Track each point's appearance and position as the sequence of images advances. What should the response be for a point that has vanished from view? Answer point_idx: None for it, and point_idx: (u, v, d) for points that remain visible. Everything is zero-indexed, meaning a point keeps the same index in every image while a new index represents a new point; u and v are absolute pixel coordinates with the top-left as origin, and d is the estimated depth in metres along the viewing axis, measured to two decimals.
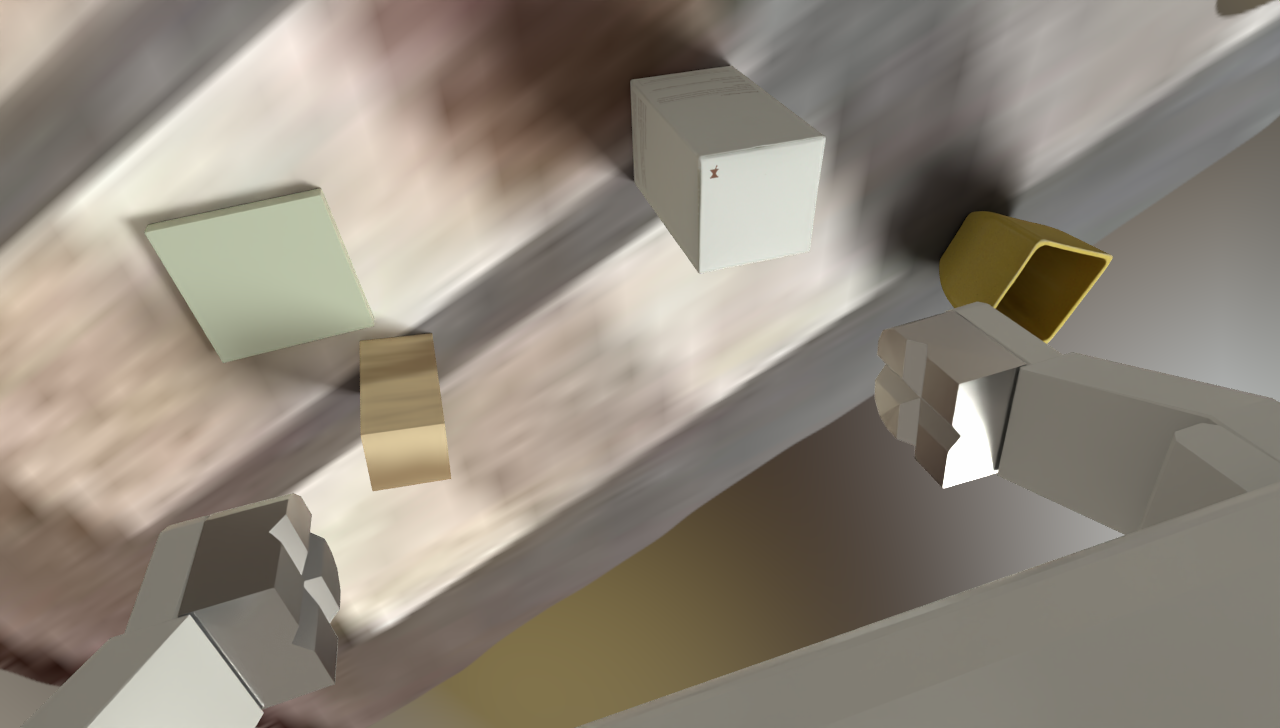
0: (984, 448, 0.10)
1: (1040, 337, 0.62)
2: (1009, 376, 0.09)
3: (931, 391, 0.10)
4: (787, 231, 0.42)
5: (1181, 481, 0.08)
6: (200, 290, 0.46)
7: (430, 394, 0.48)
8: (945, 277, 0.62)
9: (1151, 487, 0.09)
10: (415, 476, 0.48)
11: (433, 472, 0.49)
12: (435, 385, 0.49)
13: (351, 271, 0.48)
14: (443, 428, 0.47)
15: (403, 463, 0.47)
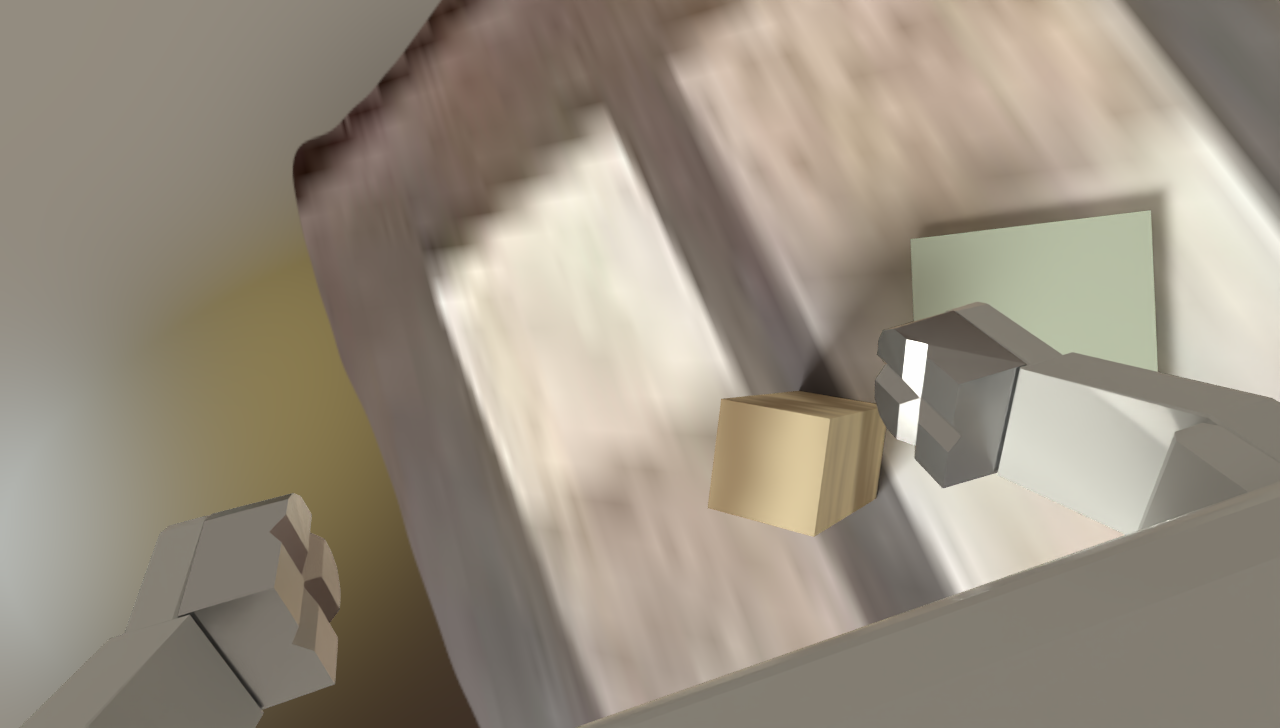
0: (984, 448, 0.10)
1: None
2: (1009, 376, 0.09)
3: (931, 391, 0.10)
4: None
5: (1181, 481, 0.08)
6: (1036, 247, 0.34)
7: (837, 509, 0.33)
8: None
9: (1151, 487, 0.09)
10: (728, 463, 0.33)
11: (727, 489, 0.33)
12: (842, 514, 0.34)
13: None
14: (805, 531, 0.31)
15: (757, 455, 0.32)
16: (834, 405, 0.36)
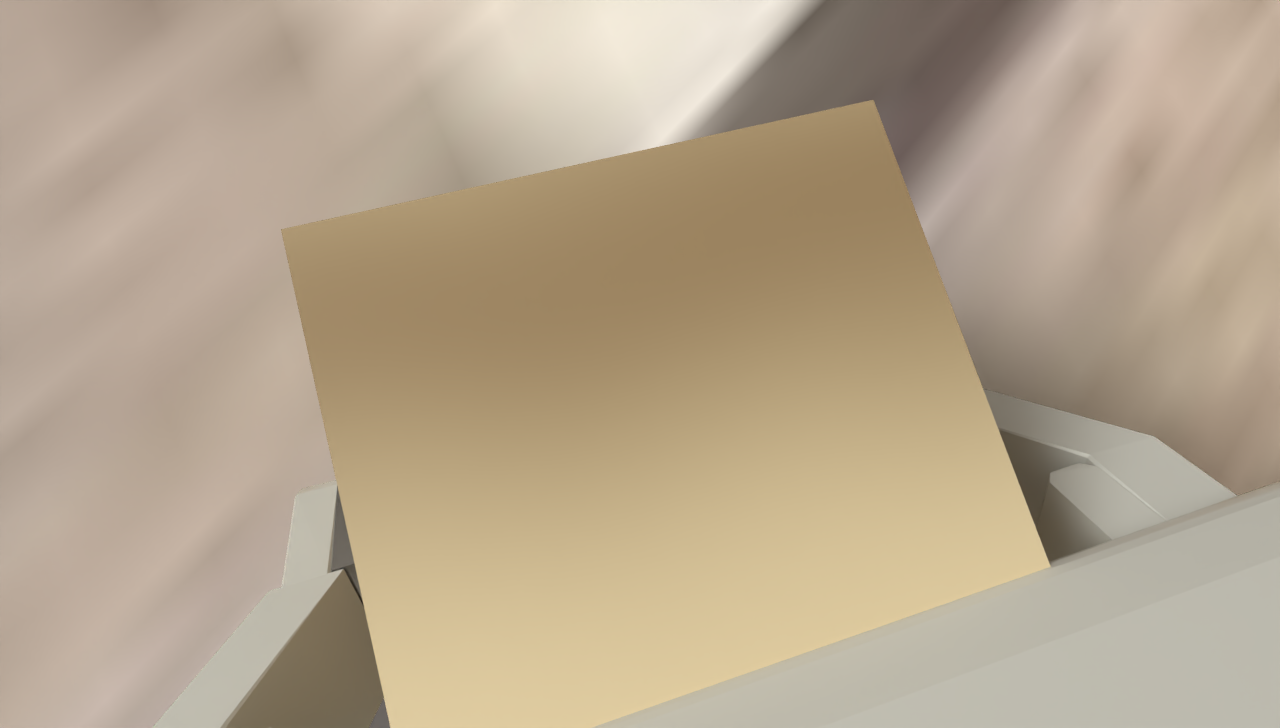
0: None
1: None
2: None
3: None
4: None
5: (1056, 524, 0.07)
6: None
7: None
8: None
9: None
10: (589, 254, 0.06)
11: (447, 299, 0.06)
12: None
13: None
14: None
15: (712, 389, 0.06)
16: None
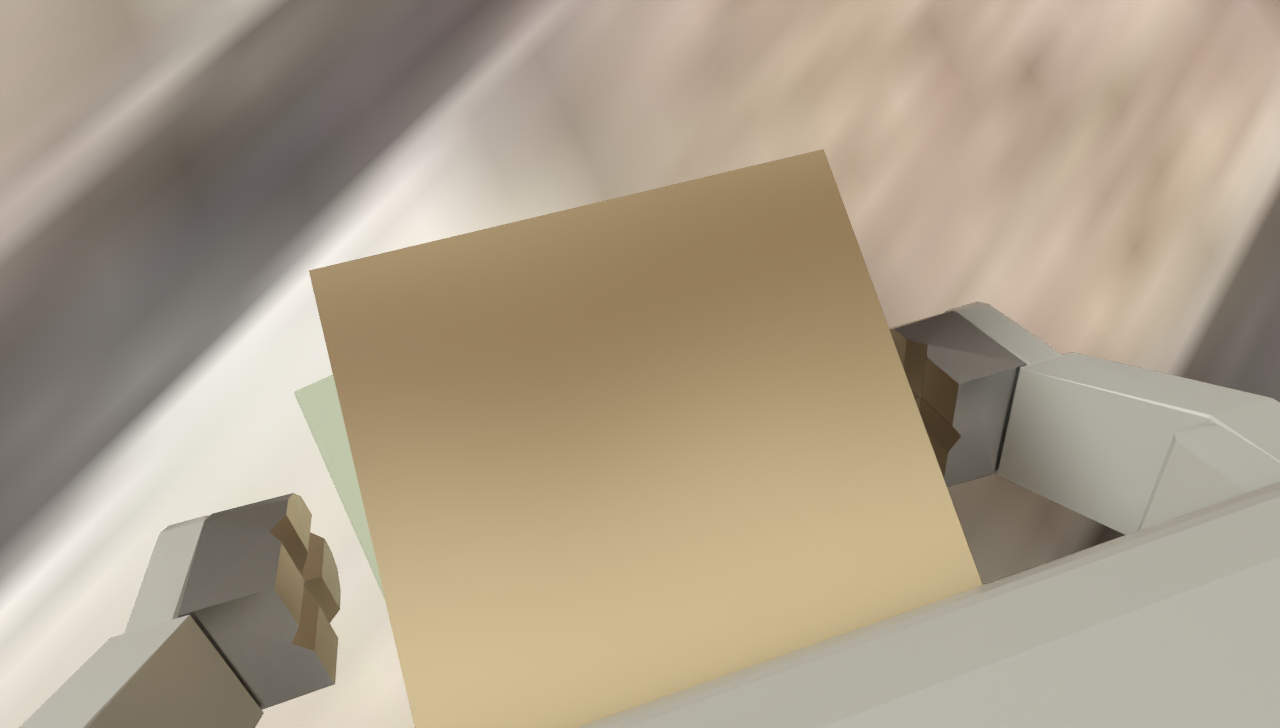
0: (984, 448, 0.10)
1: None
2: (1009, 376, 0.09)
3: (931, 391, 0.10)
4: None
5: (1181, 481, 0.08)
6: None
7: None
8: None
9: (1151, 487, 0.09)
10: (573, 288, 0.07)
11: (452, 329, 0.07)
12: None
13: (379, 580, 0.15)
14: None
15: (679, 407, 0.07)
16: None
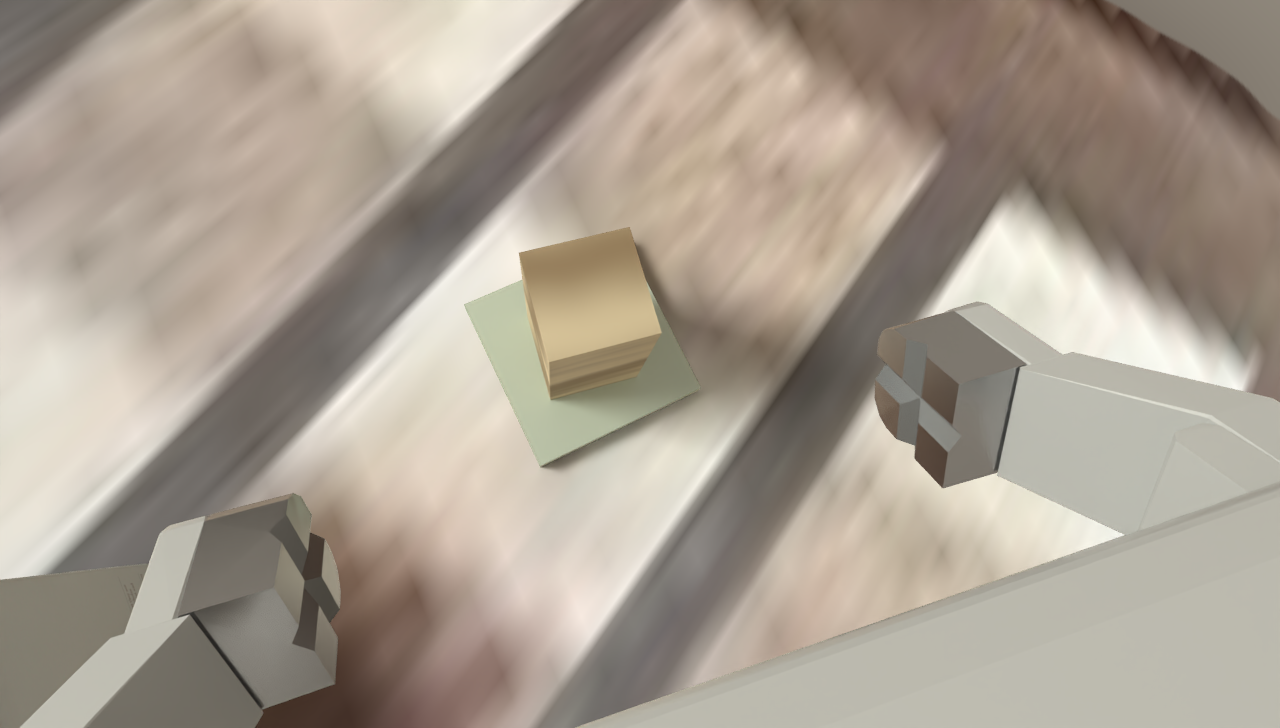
0: (984, 448, 0.10)
1: None
2: (1009, 376, 0.09)
3: (931, 391, 0.10)
4: None
5: (1181, 481, 0.08)
6: None
7: (562, 372, 0.34)
8: None
9: (1151, 487, 0.09)
10: (573, 257, 0.32)
11: (548, 265, 0.32)
12: (554, 378, 0.35)
13: (498, 375, 0.41)
14: (549, 352, 0.31)
15: (595, 281, 0.32)
16: None
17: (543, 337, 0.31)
